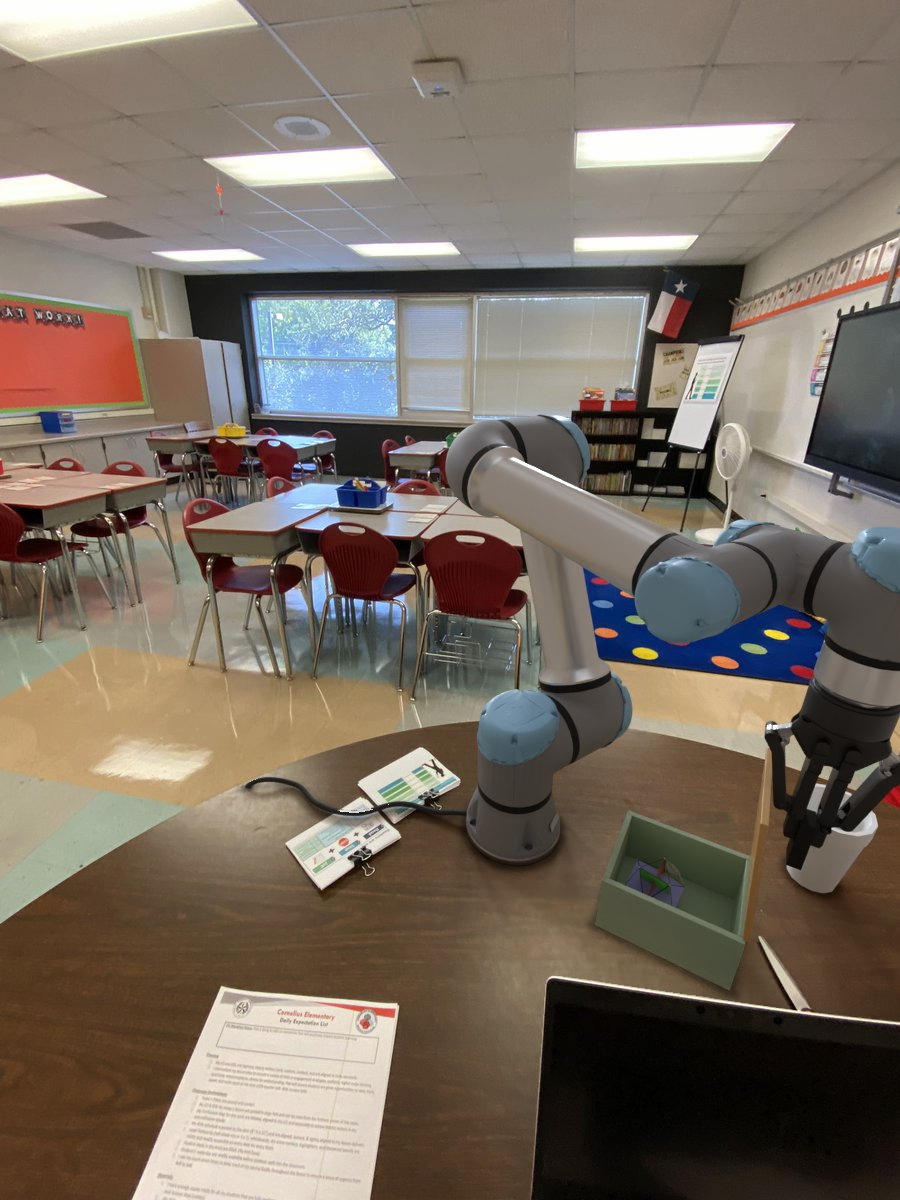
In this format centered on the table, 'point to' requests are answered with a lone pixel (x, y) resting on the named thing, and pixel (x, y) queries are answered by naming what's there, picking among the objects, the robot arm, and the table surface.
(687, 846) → the chest
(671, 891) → the geometric puzzle
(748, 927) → the lid
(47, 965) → the table surface
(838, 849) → the foam cup
